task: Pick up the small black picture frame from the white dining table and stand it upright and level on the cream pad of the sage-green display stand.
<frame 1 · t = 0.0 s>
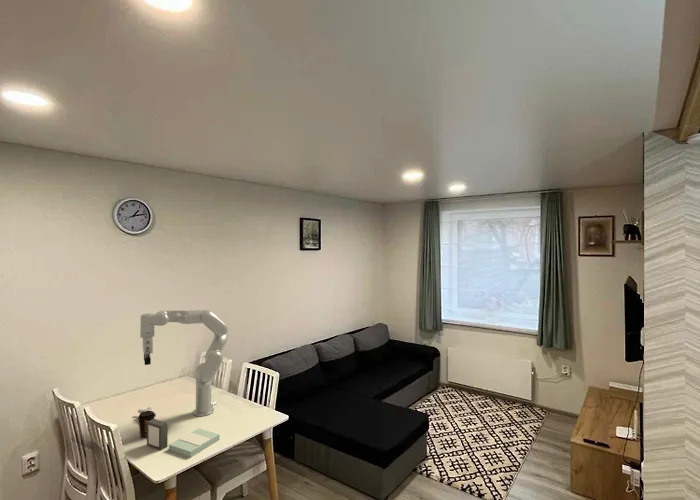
hand: (147, 362, 230), 37 cm above the table, tool pointing down, fingers open, 9 cm apart
coffee cup: (146, 436, 216), on the table
sage stand: (194, 444, 207), on the table
picture frame: (157, 446, 205), on the table
bunny figurine: (146, 418, 238), on the table
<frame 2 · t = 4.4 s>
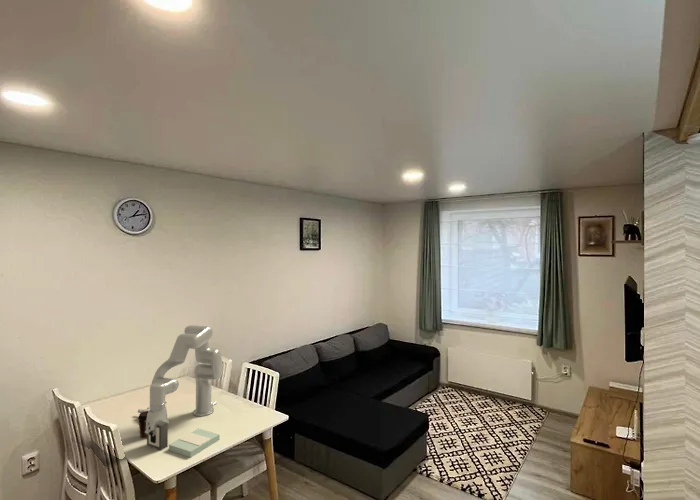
hand: (157, 440, 205), 3 cm above the table, tool pointing down, fingers closed on picture frame, 4 cm apart
picture frame: (157, 446, 205), on the table, touching gripper
everything else where it was.
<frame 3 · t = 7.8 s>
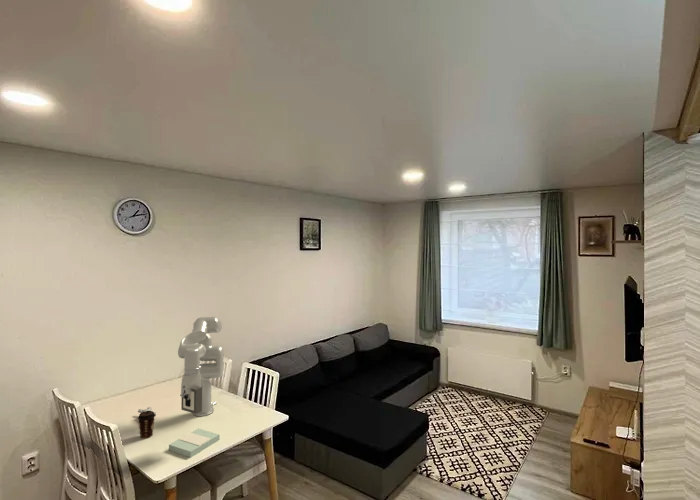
hand: (191, 404, 207), 22 cm above the table, tool pointing down, fingers closed on picture frame, 4 cm apart
picture frame: (191, 410, 207), point 19 cm above the table, touching gripper
everything else where it was.
when the fingers open (8 cm above the table, at t = 11.5 s): picture frame drops 1 cm, resting on sage stand.
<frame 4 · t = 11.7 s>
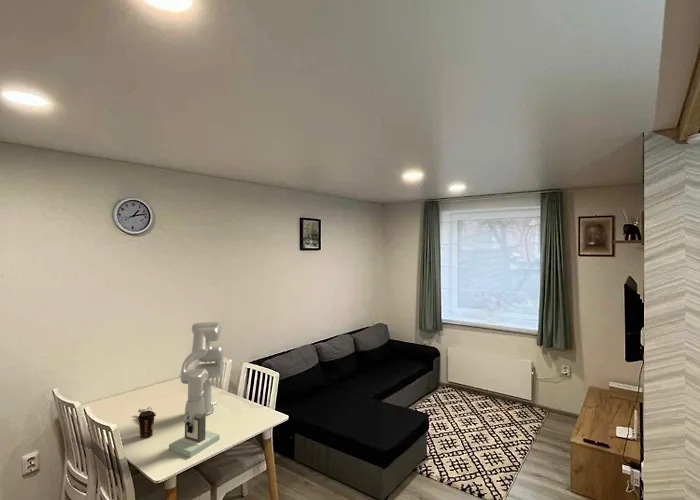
hand: (195, 429, 207), 8 cm above the table, tool pointing down, fingers open, 6 cm apart
picture frame: (195, 438, 207), point 3 cm above the table, touching sage stand
everything else where it was.
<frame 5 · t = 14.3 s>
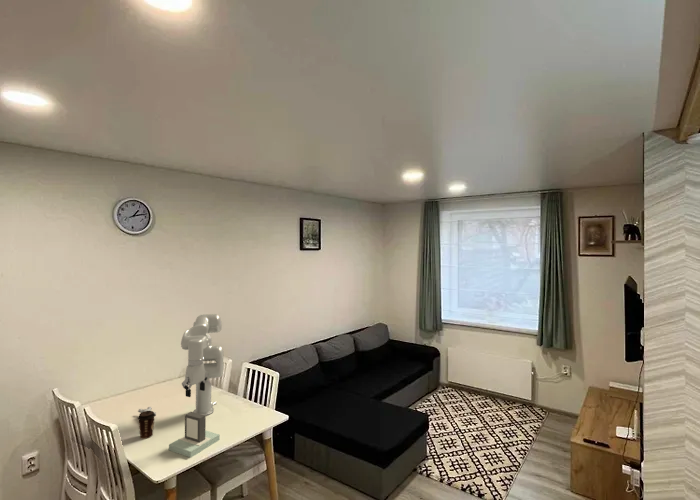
hand: (195, 393, 207), 28 cm above the table, tool pointing down, fingers open, 9 cm apart
nothing on the table moved.
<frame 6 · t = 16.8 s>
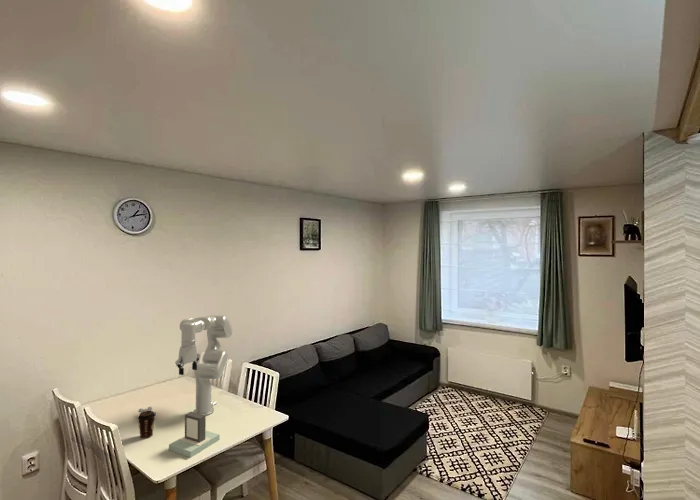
hand: (188, 372, 226), 33 cm above the table, tool pointing down, fingers open, 9 cm apart
nothing on the table moved.
at the end: picture frame inside the target area on the sage stand (0.1 cm from its centre), point 3.3 cm above the sage stand's base; picture frame tilted 0°; the gripper is holding nothing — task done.
